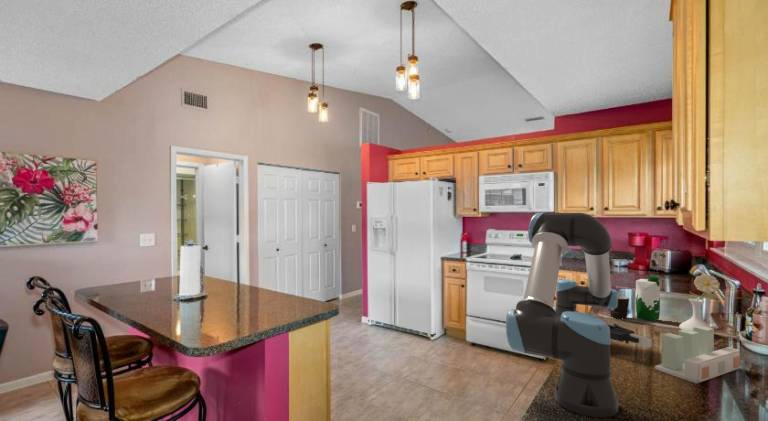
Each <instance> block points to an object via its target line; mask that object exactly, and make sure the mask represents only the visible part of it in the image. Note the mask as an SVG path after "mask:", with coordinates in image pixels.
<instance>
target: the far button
mask: <svg viewBox="0 0 768 421" xmlns="http://www.w3.org/2000/svg"><path fill="white" fill-rule="evenodd" d="M712 328H713V327H712ZM712 328H708V327H704V326H696V327H693V331H694V332H698V333H699V356H700V355H703V354H706V353H710V352H713V351H715V340H714V339H715V335H714V334H715V329H714V328H713V329H712Z"/></svg>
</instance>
